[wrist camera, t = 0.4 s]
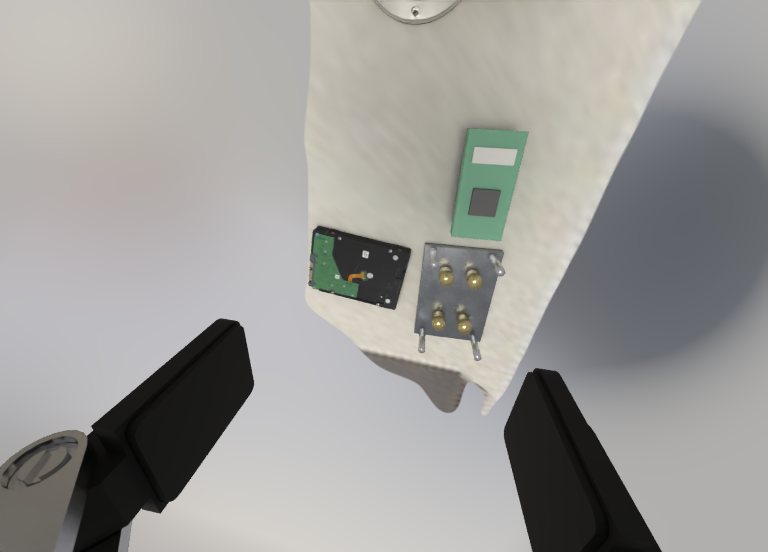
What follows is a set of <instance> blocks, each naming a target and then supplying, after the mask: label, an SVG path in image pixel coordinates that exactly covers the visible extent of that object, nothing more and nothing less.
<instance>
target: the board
mask: <svg viewBox="0 0 768 552" xmlns="http://www.w3.org/2000/svg"><path fill="white" fill-rule="evenodd" d="M528 133H529V132H525V131H505V130H486V129H467V135H466V141H465V147H464V153H463V159H462V165H461V171H460V177H459V183H458V189H457V195H456V201H455V207H454V213H453V219H452V225H451V231H450V232H451V236H452V237H462V238H473V239H484V240H494V241H501V238H502V234H503V230H504V227H505V223H506V219H507V215H508V211H509V207H510V203H511V199H512V195H513V191H514V188H515V184H516V180H517V176H518V172H519V168H520V164H521V160H522V156H523V152H524V148H525V145H526V141H527V137H528Z"/></svg>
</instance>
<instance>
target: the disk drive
mask: <svg viewBox="0 0 768 552" xmlns="http://www.w3.org/2000/svg"><path fill="white" fill-rule="evenodd" d="M410 254H411V249H409V248H405V247H402V246H398V245H394V244H389V243H384V242H381V241H377V240H373V239H369V238H365V237H361V236H356V235H353V234H349V233H345V232H341V231H338V230H335V229H329V228H325V227H321V226H318V227H317V228H315V229H314V230H313V235H312V246H311V255H310V261H311V262H310V268H311V269H310V273H309V282H308V284H309V286H312V287H313V288H314V289H318V290H319V291H322V292H326V293H331V294H335V295H338V296H342V297H346V298H350V299H354V300H358V301H362V302H365V303H369V304H373V305H377V306H380V307H384V308H388V309H393V310H395V308H396V305H397V301H398V298H399V294H400V290H401V287H402V283H403V279H404V276H405V272H406V268H407V265H408V261H409V258H410Z"/></svg>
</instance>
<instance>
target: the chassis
mask: <svg viewBox="0 0 768 552" xmlns="http://www.w3.org/2000/svg"><path fill="white" fill-rule="evenodd" d="M503 254H504V252H503V251H502V250H492V249H482V248H472V247H461V246H451V245H441V244H430V243H425V250H424V258H423V266H422V274H421V282H420V290H419V298H418V306H417V314H416V322H415V330H414V333H418V334H419V348H418V351H419V352H420V353H424V352H425V335H433V336H440V337H448V338H456V339H463V340H471V345H472V350H473V355H474V359H475V360H476V361H479V360H481V355H480V351H479V346H478V342H480V340H481V337H482V333H483V329H484V325H485V322H486V318H487V314H488V311H489V307H490V303H491V299H492V296H493V292H494V288H495V284H496V281H497V277H498V276H503V275H504V274H505V270H504V268H503V267H502V265H501V262H502V258H503ZM477 341H478V342H477Z"/></svg>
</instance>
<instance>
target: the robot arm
mask: <svg viewBox="0 0 768 552" xmlns="http://www.w3.org/2000/svg"><path fill="white" fill-rule="evenodd" d="M460 1H461V0H375V2H376V3H377V5H378V6H379V7H380V8H381V9H382V10H383V11H384V12H385V13H386V14H388V15H389V16H391V17H393V18H394V19H396V20H398V21H401V22H404V23H409V24H421V23H427V22H431V21H433V20H435V19H438V18H440V17H442V16H443V15H445V14H446V13H447V12H449V11H450V10H452V9H453V8H454V7H455V6H456V5H457V4H458V3H459V2H460ZM415 11H416V12H418V15H417V16H414V15H413V13H414V12H415ZM253 387H254V380H253V375H252V369H251V364H250V359H249V353H248V348H247V343H246V338H245V332H244V328H243V327H242V326H240V323H239V322H238V321H234V320H227V319H218V320H216V321H215V322H214V323H213V324H212V325H210V326H209V327H208V328H207V329H206V330H204V331H203V332H202V333H201V334H200V335H198V336H197V337H196V338H195V339H194V340H193V341H191V342H190V343H189V344H188V345H187V346H185V347H184V348H183V349H182V350H181V351H180V352H178V353H177V354H176V355H175V356H174V357H173V358H171V359H170V360H169V361H168V362H166V363H165V365H163V366H162V367H161V368H159V369H158V370H157V371H156V372H155V373H153V375H151V376H150V377H149V378H148V379H146V380H145V381H144V382H143V383H142V384H141V385H139V386H138V387H137V388H136V389H135V390H133V391H132V392H131V393H130V394H129V395H127V396H126V397H125V398H124V399H123V400H121V401H120V402H119V403H118V404H117V405H116V406H114V407H113V408H112V409H111V410H110V411H109V412H107V413H106V414H105V415H104V416H103V417H101V418H100V419H99V420H98V421H97V422H95V423H94V424H93V425H92V428H93V431H92V432H91V433H90V434H89V435H87V436H86V435H85V434H84V433H83V432H80V431H77V430H68V431H62V432H58V433H54V434H51V435H49V436H46V437H44V438H41V439H39V440H37V441H35V442H33V443H31V444H30V445H28V446H26V447H24V448H23V449H22V450H20V451H19V452H17V453H16V454H14V455H13V456H12V457H10V458H9V459H8V460H7V461H6V462H5V463H4V464H3V465H2V466H1V467H0V552H128V547H129V540H130V532H131V525H132V520H133V518H134V517H135V515H137V513H138V512H139V511H140V509H141V508H142V509H143V510H147V511H152V512H156V513H161V512H162V511H163V509H164V508H165V507H166V505H167V504H168V503H169V502H170V501H173V500H175V499H176V498H177V497H178V495H179V494H180V493H181V492H182V490H183V489H184V487H185V486H186V484H187V483H188V482H189V480H190V479H191V477H192V476H193V475H194V473H195V472H196V470H197V469H198V467H199V466H200V465H201V463H202V462H203V460H204V459H205V457H206V456H207V455H208V453H209V452H210V450H211V449H212V448H213V446H214V445H215V443H216V442H217V440H218V439H219V438H220V436H221V435H222V433H223V432H224V431H225V429H226V427H227V426H228V425H229V423H230V422H231V421H232V419H233V418H234V416H235V415H236V413H237V412H238V411H239V409H240V408H241V407H242V405H243V404H244V402H245V401H246V399H247V398H248V396H249V395H250V394H251V392H252V390H253ZM504 439H505V444H506V448H507V452H508V455H509V460H510V464H511V468H512V472H513V476H514V480H515V484H516V488H517V492H518V495H519V499H520V504H521V508H522V512H523V515H524V520H525V524H526V527H527V532H528V536H529V539H530V543H531V547H532V551H533V552H662V551H661V550H660V548H659V546H658V544H657V543H656V541H655V539H654V537H653V536H652V533H651V532H650V530H649V528H648V527H647V525H646V523H645V521H644V519H643V518H642V516H641V514H640V512H639V511H638V509H637V507H636V505H635V503H634V502H633V500H632V498H631V496H630V495H629V493H628V491H627V489H626V488H625V486H624V484H623V482H622V480H621V479H620V477H619V475H618V473H617V472H616V470H615V468H614V466H613V465H612V463H611V461H610V459H609V457H608V456H607V454H606V452H605V450H604V448H603V447H602V445H601V443H600V442H599V440H598V438H597V436H596V434H595V433H594V431H593V430H592V428H591V427H590V426H589V425H588V424H587V422H586V420H585V419H584V417H583V415H582V413H581V411H580V410H579V408H578V406H577V404H576V402H575V401H574V399H573V397H572V395H571V393H570V392H569V390H568V388H567V386H566V384H565V383H564V381H563V379H562V377H561V376H560V374H559V373H558V372H556V371H551V370H545V369H539V368H536V369H534V371H533V372H528V373H527V375H526V377H525V380H524V382H523V385H522V387H521V389H520V392H519V394H518V397H517V399H516V401H515V404H514V406H513V409H512V411H511V414H510V416H509V418H508V421H507V423H506V426H505V428H504Z"/></svg>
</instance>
